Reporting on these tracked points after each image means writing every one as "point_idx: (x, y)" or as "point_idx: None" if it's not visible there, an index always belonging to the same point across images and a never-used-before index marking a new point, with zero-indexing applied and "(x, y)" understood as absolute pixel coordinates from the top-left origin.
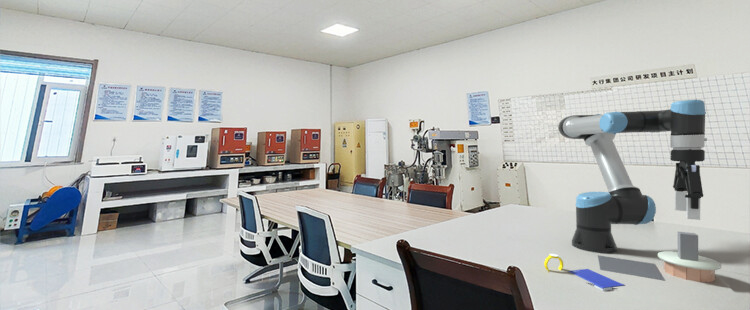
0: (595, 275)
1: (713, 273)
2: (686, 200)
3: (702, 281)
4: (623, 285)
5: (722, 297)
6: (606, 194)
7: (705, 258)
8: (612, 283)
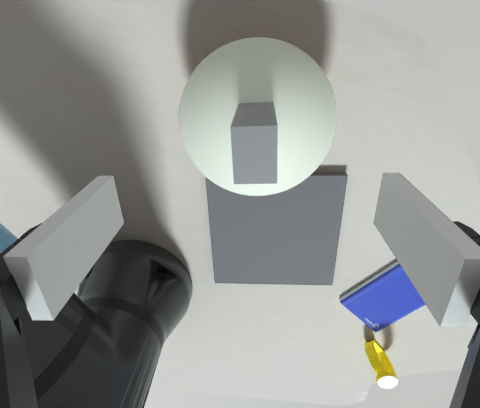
0: (384, 295)
1: None
2: (74, 212)
3: None
4: None
5: (395, 68)
6: None
7: (218, 70)
8: None
